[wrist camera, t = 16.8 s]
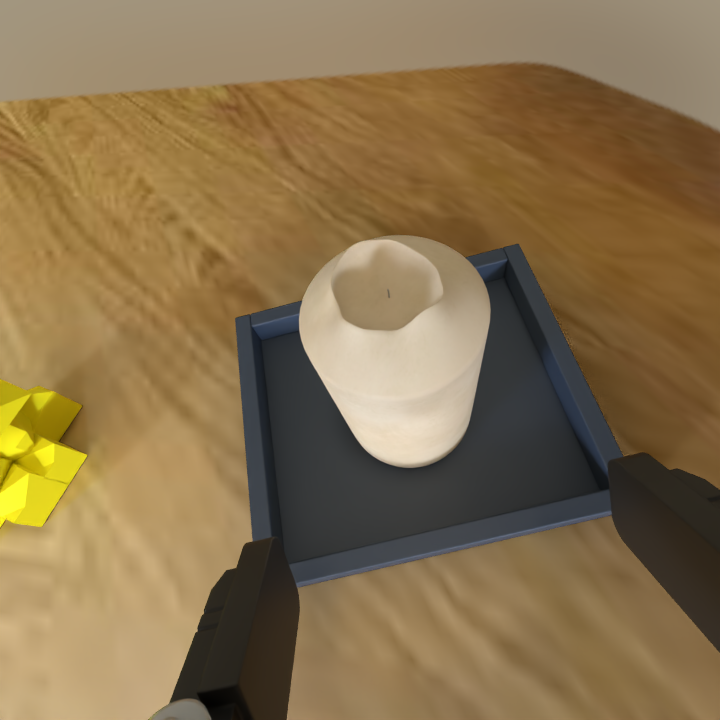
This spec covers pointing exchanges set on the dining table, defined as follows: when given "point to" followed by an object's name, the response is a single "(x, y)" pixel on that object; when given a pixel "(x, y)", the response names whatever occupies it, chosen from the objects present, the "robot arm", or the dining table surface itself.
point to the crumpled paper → (34, 452)
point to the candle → (399, 344)
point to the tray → (435, 481)
